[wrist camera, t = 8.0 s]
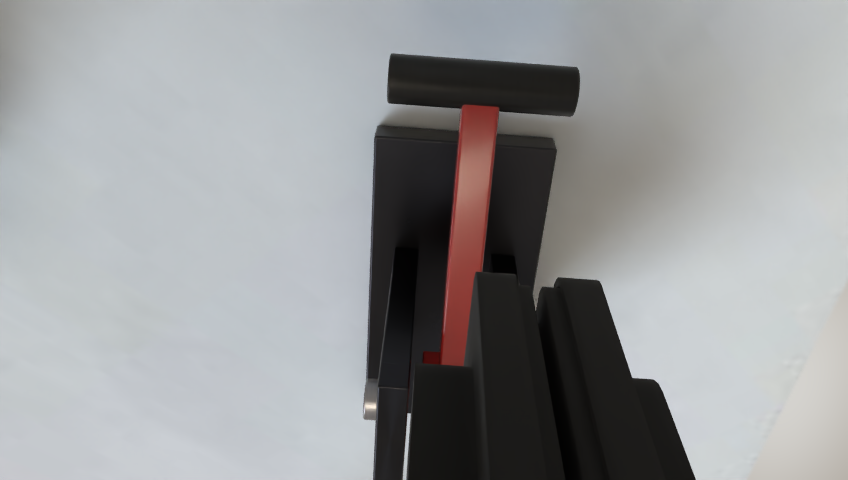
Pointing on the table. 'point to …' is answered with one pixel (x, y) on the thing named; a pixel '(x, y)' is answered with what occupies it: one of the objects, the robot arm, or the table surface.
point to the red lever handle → (475, 154)
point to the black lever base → (435, 257)
